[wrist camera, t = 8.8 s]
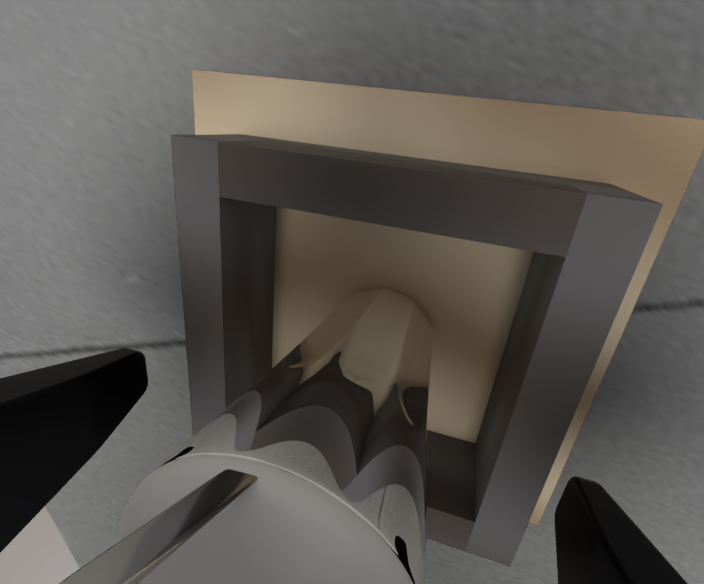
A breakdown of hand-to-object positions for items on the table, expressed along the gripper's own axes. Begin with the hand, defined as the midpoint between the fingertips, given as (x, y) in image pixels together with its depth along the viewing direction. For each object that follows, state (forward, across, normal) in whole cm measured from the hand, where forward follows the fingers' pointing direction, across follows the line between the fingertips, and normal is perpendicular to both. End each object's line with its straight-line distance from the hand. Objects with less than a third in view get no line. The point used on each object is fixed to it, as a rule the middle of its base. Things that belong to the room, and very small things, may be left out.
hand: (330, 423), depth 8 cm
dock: (+6, 0, 0) cm, 6 cm away
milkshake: (+5, 0, 0) cm, 5 cm away
